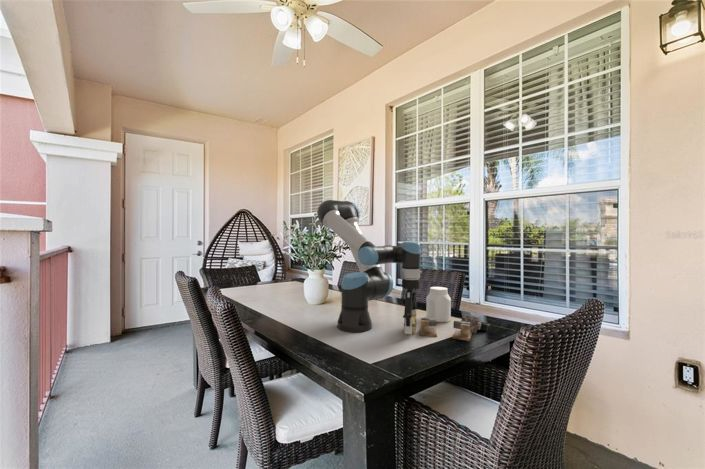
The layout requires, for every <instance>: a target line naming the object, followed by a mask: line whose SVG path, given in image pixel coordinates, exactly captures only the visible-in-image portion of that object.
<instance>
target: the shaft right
mask: <svg viewBox="0 0 705 469" xmlns="http://www.w3.org/2000/svg"><path fill="white" fill-rule="evenodd" d="M452 325H453V329H457V330H454V332H453V334H452V336H451V339H454V340H460V341H461V340H462V341H467V342H470V340H471V338H472V336H473V333H471V332H470V322H461V321H459V320H453V324H452Z"/></svg>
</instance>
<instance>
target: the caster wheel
mask: <svg viewBox="0 0 705 469" xmlns="http://www.w3.org/2000/svg"><path fill="white" fill-rule="evenodd" d="M461 322H470V332H471V333H472V334H477V331H479V330H480V331H488V328H489V324H487V323H485V322H482V321H481V320H480V317H476V316H474V315H470V314H466V313H463V314H462V317H461Z"/></svg>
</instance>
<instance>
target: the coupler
mask: <svg viewBox="0 0 705 469" xmlns="http://www.w3.org/2000/svg"><path fill="white" fill-rule="evenodd" d="M408 315H409V314H408ZM411 316H412V317H411V318H412V334H411V335H415V334H416V333H417V325H418V324H417V313H416V314H412V315H411ZM403 319H404V320H403V321H404V323H403V333H404V334H405V318H403Z"/></svg>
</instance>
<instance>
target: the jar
mask: <svg viewBox="0 0 705 469" xmlns="http://www.w3.org/2000/svg"><path fill="white" fill-rule="evenodd" d="M448 290H449V289H448V288H447V287H445V286H444V287H443V286H431V287H429V293H428V294H427V295H426V298H425V299H426V300H425V301H426V305H425V306H426V310H425V314H426V315H425V318H429V319H436V323H440V322H441V323H442V322H443V323H448V322H451V320H452V317H451V316H452V315H451V314H452V313H451V312H452V310H451V308H452V304H451V303H452V298H451V297H450V295H449V293H448V292H449V291H448Z"/></svg>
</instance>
